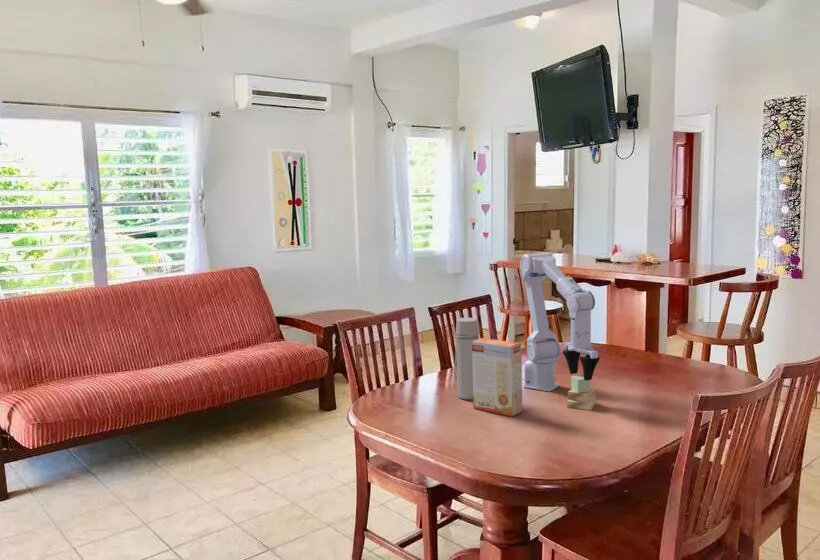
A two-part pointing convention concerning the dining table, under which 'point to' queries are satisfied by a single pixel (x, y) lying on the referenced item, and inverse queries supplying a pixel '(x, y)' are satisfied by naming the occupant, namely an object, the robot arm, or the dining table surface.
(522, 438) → the dining table surface
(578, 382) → the sage cube
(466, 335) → the water bottle
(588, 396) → the beech slab top
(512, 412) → the cracker box
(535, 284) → the robot arm
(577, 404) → the beech slab bottom
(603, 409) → the dining table surface
